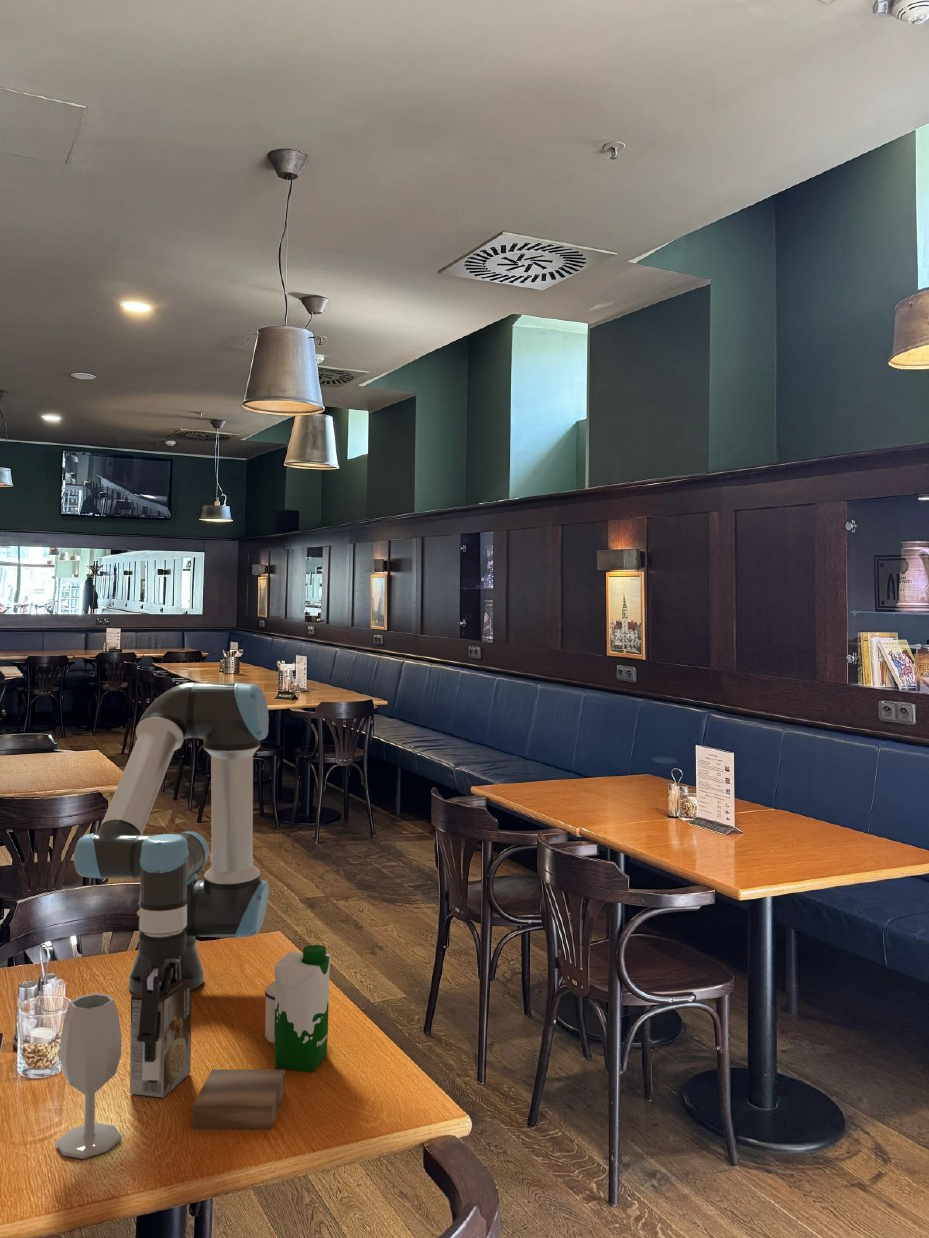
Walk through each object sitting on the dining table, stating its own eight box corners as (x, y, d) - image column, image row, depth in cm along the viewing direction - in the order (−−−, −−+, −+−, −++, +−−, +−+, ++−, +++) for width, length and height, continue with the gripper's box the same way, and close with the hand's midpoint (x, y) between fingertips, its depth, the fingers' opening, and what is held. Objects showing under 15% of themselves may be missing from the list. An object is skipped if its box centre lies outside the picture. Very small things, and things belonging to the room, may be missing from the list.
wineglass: (44, 1147, 140) (47, 1003, 140) (96, 1122, 147) (99, 985, 147) (80, 1167, 135) (83, 1017, 135) (132, 1140, 142) (135, 998, 143)
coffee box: (157, 1068, 165) (158, 975, 165) (191, 1073, 164) (193, 978, 164) (128, 1094, 156) (129, 995, 156) (164, 1098, 155) (166, 999, 155)
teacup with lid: (312, 1045, 175) (313, 981, 176) (261, 1047, 174) (262, 983, 175) (315, 1019, 187) (315, 959, 187) (267, 1020, 186) (268, 960, 186)
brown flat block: (211, 1093, 158) (212, 1069, 158) (284, 1093, 158) (285, 1069, 158) (192, 1131, 146) (192, 1105, 146) (271, 1132, 146) (271, 1105, 146)
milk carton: (317, 1075, 164) (319, 957, 164) (267, 1070, 165) (269, 953, 166) (333, 1052, 172) (335, 941, 173) (285, 1048, 174) (287, 938, 174)
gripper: (160, 909, 171) (158, 1035, 171) (117, 952, 149) (115, 1097, 148) (202, 910, 171) (200, 1035, 171) (166, 953, 149) (163, 1097, 149)
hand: (160, 1064), depth 160 cm, fingers closed on coffee box, 10 cm apart
